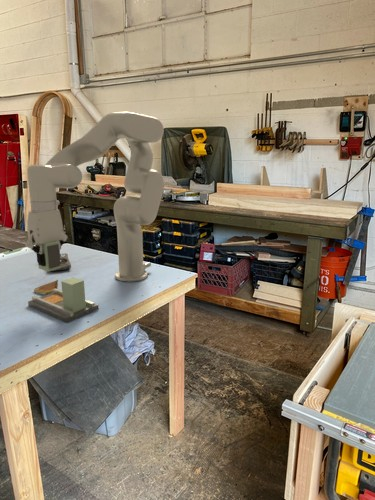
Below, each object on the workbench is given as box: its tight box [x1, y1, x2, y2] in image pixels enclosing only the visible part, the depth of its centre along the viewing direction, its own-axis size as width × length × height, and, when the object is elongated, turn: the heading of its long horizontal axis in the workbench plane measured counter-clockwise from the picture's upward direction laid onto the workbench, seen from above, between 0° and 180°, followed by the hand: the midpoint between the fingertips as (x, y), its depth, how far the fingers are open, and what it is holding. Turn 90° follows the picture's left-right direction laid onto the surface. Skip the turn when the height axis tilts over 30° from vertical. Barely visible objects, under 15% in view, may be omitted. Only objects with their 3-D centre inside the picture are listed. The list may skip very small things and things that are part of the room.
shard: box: [33, 279, 59, 296], centre depth 135 cm, size 11×8×2 cm
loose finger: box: [38, 241, 61, 272], centre depth 118 cm, size 4×6×9 cm
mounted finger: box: [60, 276, 86, 312], centre depth 116 cm, size 4×6×9 cm
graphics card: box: [52, 253, 72, 272], centre depth 160 cm, size 17×4×12 cm
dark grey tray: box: [27, 288, 99, 324], centre depth 120 cm, size 12×20×3 cm, turn 54°
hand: (49, 262), depth 119 cm, fingers closed on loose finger, 4 cm apart
